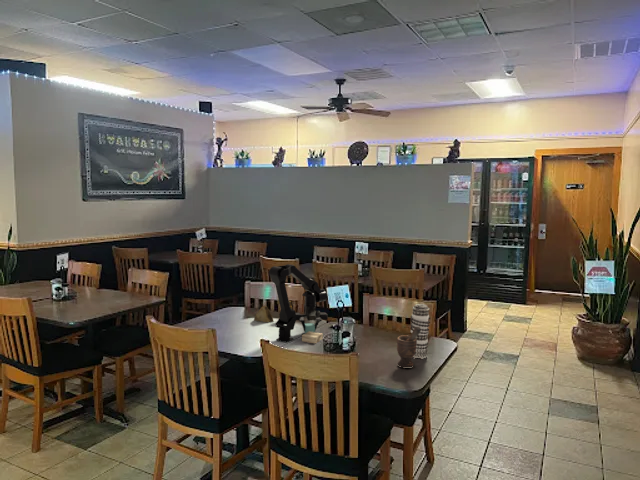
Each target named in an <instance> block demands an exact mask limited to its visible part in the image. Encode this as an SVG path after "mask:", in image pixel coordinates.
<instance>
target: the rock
mask: <svg viewBox="0 0 640 480" xmlns="http://www.w3.org/2000/svg"><path fill="white" fill-rule="evenodd" d="M253 318H254V319H253V320H254V321H256V322H261V321H263V322H262V323H273V322H274V317H273V315H272V314H271V311H270V309H269V308H268V306H267V305H263V306H261V307H260V309H259V310H258V311H257V312H256V313H255V316H254V317H253Z"/></svg>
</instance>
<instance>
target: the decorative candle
mask: <svg viewBox="0 0 640 480" xmlns="http://www.w3.org/2000/svg"><path fill="white" fill-rule="evenodd" d="M429 311H430V307H428V305H427V304H424V303H416V304H415V305H413V306H412V312H411V315H410V328H409V329H410V333H411V334H412V332H413V330H414V329H415V328H416V327H420V328H421V331H420V333H419V334H418V335H417V336H416V337H415V338H416V339H417V344H416V352H415V354H414V356H418V357H419V356H421V357H422V356H423V357H424V356H426V355H427V356H428V353H429V352H428V351H429V349H428V348H429V346H428V345H429V343H428V340H429V339H428V335H429V331H430V328H429V327H430V323H431V322H430V321H429V320H431V317H430V314H429V313H430V312H429ZM411 334H410V335H411Z"/></svg>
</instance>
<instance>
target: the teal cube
mask: <svg viewBox="0 0 640 480" xmlns="http://www.w3.org/2000/svg"><path fill="white" fill-rule="evenodd" d="M314 323H315V322H313V323H305V332H304V331H303V332H304V333H303V334H305V333H307V332H309V331H311V332H316V330H315V325H314Z"/></svg>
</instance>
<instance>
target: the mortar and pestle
mask: <svg viewBox="0 0 640 480" xmlns="http://www.w3.org/2000/svg"><path fill="white" fill-rule="evenodd" d="M420 331H421V328H420V327H416V328H415V329H414V330H413V332H412V334H410V335H408V334H406V335H404V334H402V335H399V336H398V337H397V338H396V339H397V342H396V343H397V344H396V350H397V354H398V356H399V357H400V359H399V360H398V361H397V364H398V365H399V366H401V367H412V366H413V365H414V362H413V361H412V357H413V356H414V354H415V352H416V344H417V339H416V338H415V337H416V336H417V335H418V334H419V333H420Z"/></svg>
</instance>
